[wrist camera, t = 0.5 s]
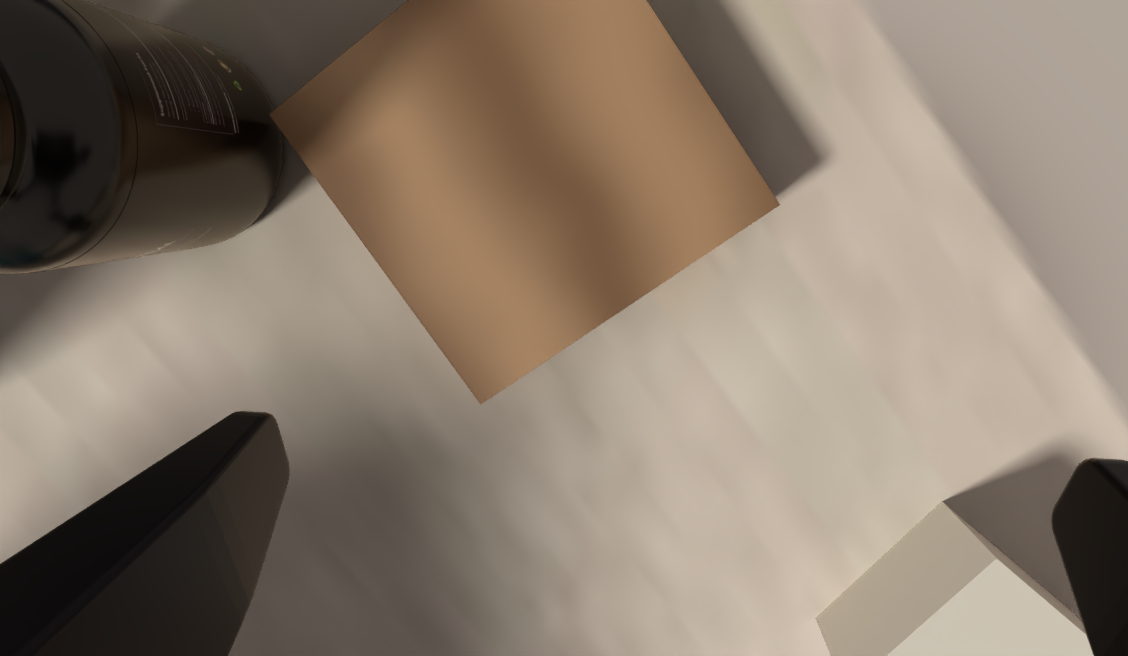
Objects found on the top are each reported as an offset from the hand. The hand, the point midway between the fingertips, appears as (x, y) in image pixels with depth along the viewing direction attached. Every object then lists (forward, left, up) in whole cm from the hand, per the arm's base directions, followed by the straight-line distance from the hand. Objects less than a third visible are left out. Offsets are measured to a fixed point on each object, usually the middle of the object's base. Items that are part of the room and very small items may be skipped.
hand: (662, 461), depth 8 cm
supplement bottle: (-10, +12, -16) cm, 23 cm away
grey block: (+2, -16, -16) cm, 23 cm away
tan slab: (-1, +5, -16) cm, 17 cm away
